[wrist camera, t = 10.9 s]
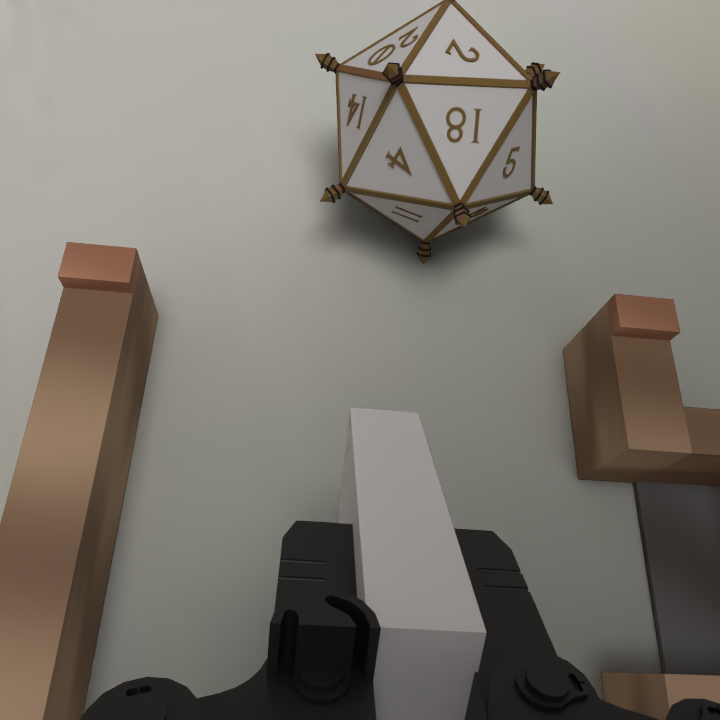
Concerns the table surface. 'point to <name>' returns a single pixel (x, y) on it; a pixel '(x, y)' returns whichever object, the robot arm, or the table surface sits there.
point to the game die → (436, 125)
